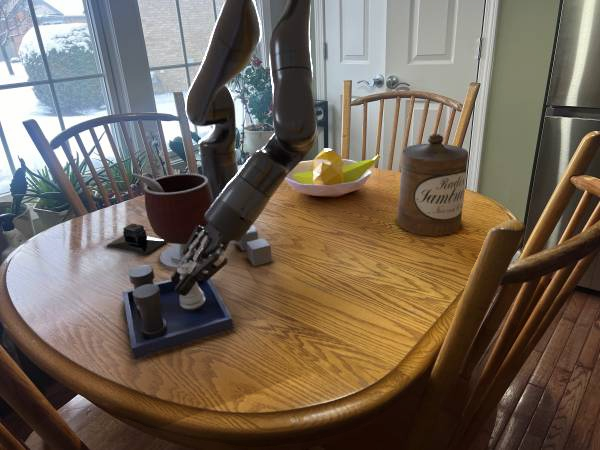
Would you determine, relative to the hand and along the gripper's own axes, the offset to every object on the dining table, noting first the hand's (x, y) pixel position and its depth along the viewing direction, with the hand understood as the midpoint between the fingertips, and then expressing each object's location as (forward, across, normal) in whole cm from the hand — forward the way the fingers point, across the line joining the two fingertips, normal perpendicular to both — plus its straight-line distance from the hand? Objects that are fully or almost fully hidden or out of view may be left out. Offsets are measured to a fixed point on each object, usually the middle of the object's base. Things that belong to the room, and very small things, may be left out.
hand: (177, 287), depth 75 cm
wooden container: (-39, -9, +48) cm, 63 cm away
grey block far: (-9, -20, +17) cm, 28 cm away
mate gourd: (+1, -22, +8) cm, 23 cm away
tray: (+5, 0, +3) cm, 6 cm away
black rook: (+7, -4, 0) cm, 8 cm away
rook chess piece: (+2, 0, +4) cm, 5 cm away
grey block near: (-9, -12, +17) cm, 23 cm away
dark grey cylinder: (+7, +4, 0) cm, 8 cm away
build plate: (+7, -34, +1) cm, 35 cm away
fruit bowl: (-33, -43, +42) cm, 68 cm away
